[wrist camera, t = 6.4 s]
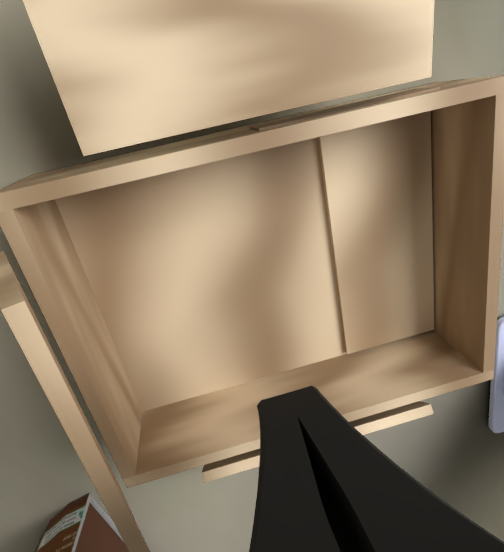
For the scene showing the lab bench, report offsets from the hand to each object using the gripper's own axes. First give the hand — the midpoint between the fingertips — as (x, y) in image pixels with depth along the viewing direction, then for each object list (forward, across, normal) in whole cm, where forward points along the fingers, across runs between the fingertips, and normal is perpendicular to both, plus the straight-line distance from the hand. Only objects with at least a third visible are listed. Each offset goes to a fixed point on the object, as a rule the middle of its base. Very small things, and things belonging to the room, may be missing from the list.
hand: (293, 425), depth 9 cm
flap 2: (+5, -2, -6) cm, 8 cm away
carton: (+9, -2, +2) cm, 10 cm away
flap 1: (+5, +7, 0) cm, 8 cm away
